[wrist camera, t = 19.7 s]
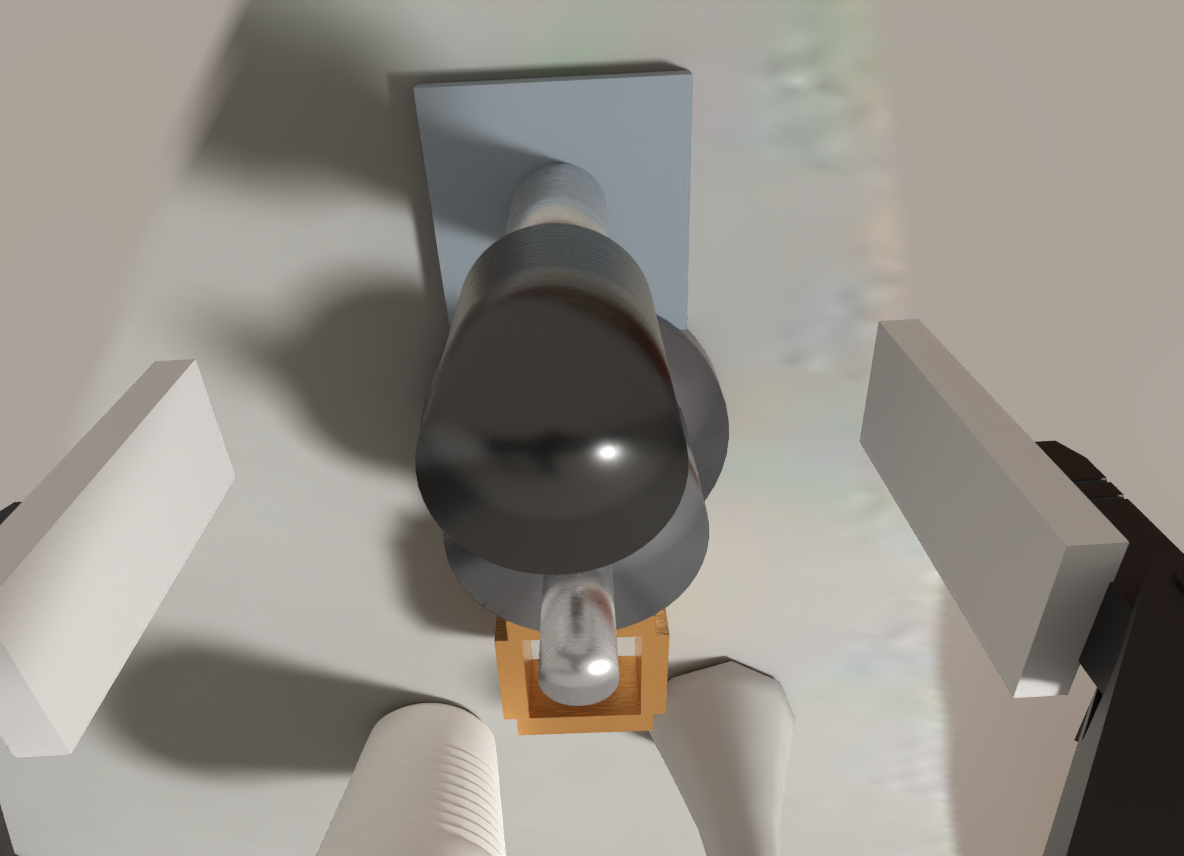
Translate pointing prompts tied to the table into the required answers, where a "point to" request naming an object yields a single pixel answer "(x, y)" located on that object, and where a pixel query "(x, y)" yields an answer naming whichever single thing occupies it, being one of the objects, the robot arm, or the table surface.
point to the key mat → (569, 135)
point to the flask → (728, 755)
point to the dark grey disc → (688, 401)
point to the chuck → (590, 627)
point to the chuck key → (553, 394)
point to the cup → (422, 789)
